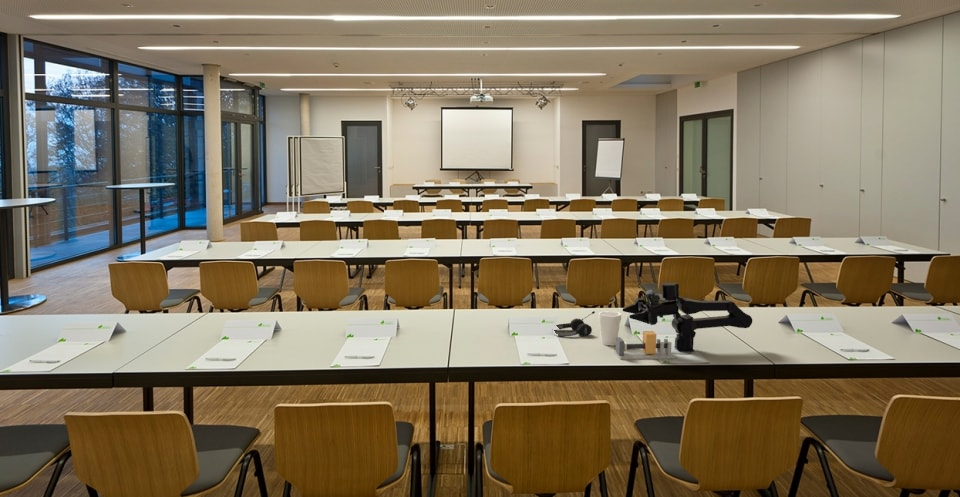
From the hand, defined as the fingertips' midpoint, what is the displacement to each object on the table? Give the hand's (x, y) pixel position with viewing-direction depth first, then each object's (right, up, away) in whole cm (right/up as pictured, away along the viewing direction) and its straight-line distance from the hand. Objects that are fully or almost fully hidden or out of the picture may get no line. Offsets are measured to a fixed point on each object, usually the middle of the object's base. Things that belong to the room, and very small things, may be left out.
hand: (626, 313), depth 294 cm
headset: (-18, -12, +31) cm, 38 cm away
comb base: (+7, -17, -3) cm, 18 cm away
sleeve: (+9, -15, -3) cm, 18 cm away
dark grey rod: (+7, -14, -4) cm, 16 cm away
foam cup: (-4, -14, +14) cm, 20 cm away
